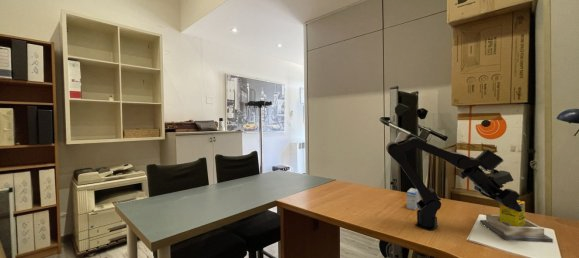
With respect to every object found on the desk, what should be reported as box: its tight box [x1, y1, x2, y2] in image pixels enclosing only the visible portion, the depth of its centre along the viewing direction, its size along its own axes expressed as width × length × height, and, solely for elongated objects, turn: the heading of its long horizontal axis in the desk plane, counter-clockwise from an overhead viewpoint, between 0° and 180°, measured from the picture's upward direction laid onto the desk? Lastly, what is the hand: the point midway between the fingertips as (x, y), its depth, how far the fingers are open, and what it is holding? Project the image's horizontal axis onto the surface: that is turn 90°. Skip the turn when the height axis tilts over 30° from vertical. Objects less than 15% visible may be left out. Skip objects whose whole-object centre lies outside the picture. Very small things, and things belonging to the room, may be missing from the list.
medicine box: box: [406, 187, 421, 211], centre depth 124 cm, size 8×4×9 cm, turn 141°
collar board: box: [479, 214, 554, 243], centre depth 94 cm, size 15×15×4 cm
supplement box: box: [499, 199, 526, 227], centre depth 94 cm, size 6×6×11 cm
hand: (512, 206), depth 94 cm, fingers open, 9 cm apart
